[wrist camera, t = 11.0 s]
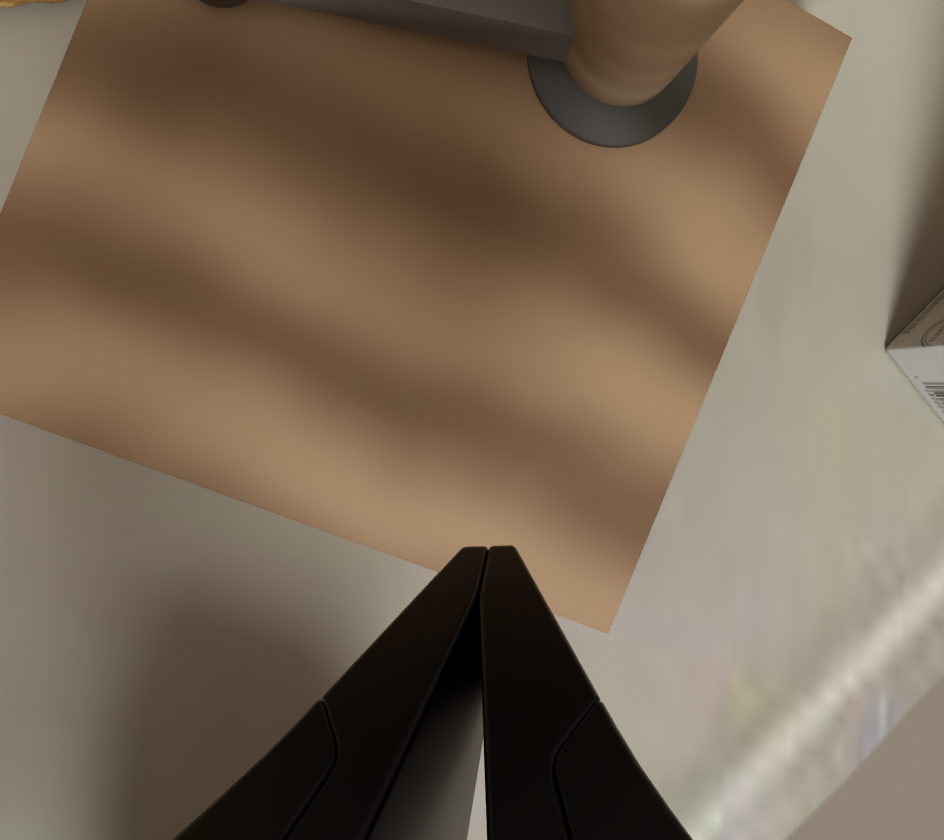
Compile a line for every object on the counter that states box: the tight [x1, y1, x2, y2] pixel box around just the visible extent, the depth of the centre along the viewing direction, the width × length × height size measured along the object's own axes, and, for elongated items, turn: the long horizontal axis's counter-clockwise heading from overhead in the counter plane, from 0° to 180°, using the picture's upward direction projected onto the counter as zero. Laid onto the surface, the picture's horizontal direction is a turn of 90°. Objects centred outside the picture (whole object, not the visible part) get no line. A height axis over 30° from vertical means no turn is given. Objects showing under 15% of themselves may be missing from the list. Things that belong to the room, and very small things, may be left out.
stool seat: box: [0, 0, 852, 633], centre depth 19 cm, size 22×22×3 cm
